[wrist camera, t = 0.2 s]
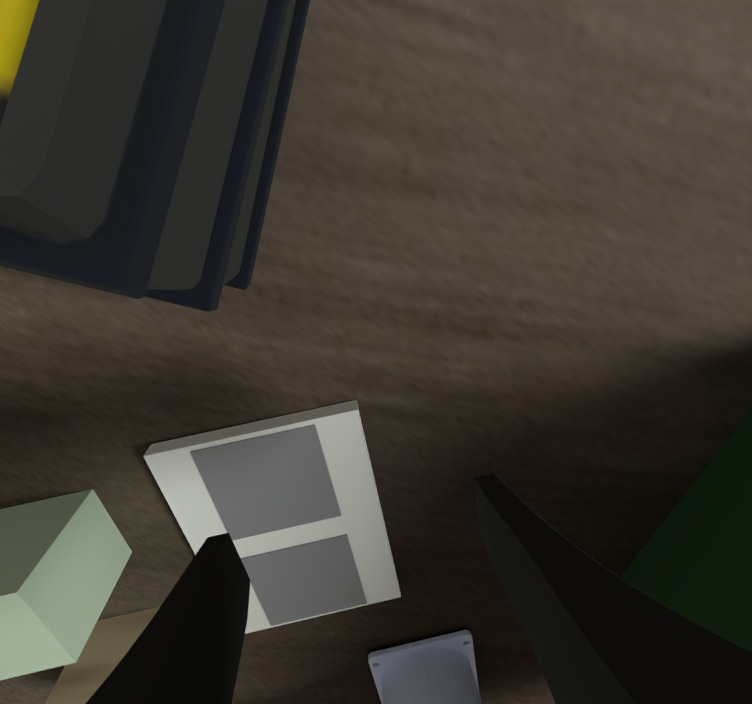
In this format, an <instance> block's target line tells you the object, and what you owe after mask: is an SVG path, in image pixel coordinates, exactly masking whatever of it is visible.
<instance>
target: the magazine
mask: <svg viewBox="0 0 752 704" xmlns="http://www.w3.org/2000/svg"><path fill="white" fill-rule="evenodd" d="M309 2H310V0H0V266H3V267H8V268H12V269H16V270H20V271H24V272H28V273H32V274H37V275H41V276H45V277H49V278H53V279H57V280H62V281H66V282H70V283H74V284H78V285H82V286H86V287H91V288H95V289H99V290H103V291H107V292H111V293H115V294H120V295H124V296H128V297H132V298H136V299H138V298H143V296H145V297H149V298H153V299H158V300H162V301H166V302H170V303H174V304H178V305H182V306H186V307H191V308H195V309H199V310H203V311H212V310H216V309H217V308H218V304H219V300H220V296H221V292H222V287H223V285H227V286H231V287H235V288H239V289H242V290H245V289H246V288H247V287H248V286H249V284H250V282H251V278H252V273H253V268H254V263H255V259H256V254H257V249H258V244H259V240H260V235H261V230H262V226H263V221H264V216H265V211H266V207H267V202H268V197H269V192H270V188H271V183H272V178H273V173H274V169H275V164H276V159H277V154H278V150H279V145H280V140H281V135H282V131H283V126H284V121H285V116H286V112H287V107H288V102H289V97H290V93H291V88H292V83H293V78H294V74H295V69H296V64H297V59H298V55H299V50H300V45H301V40H302V36H303V31H304V26H305V21H306V17H307V12H308V7H309Z"/></svg>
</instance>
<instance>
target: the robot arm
mask: <svg viewBox="0 0 752 704" xmlns="http://www.w3.org/2000/svg"><path fill="white" fill-rule="evenodd" d="M474 488H475V499H476V510H477V521H478V529H479V532H480V535H481V537H482V540H483V543H484V546H485V548H486V551H487V554H488V556H489V559H490V562H491V564H492V566H493V568H494V570H495V572H496V574H497V576H498V578H499V580H500V582H501V585H502V587H503V589H504V591H505V593H506V595H507V597H508V599H509V601H510V603H511V605H512V607H513V609H514V611H515V613H516V615H517V617H518V619H519V621H520V623H521V625H522V627H523V629H524V631H525V633H526V635H527V637H528V639H529V641H530V643H531V645H532V648H533V650H534V652H535V654H536V656H537V659H538V661H539V663H540V665H541V668H542V670H543V673H544V675H545V678H546V680H547V683H548V685H549V688H550V690H551V693H552V695H553V698H554V700H555V703H556V704H752V652H750V651H748V650H746V649H744V648H741V647H739V646H737V645H735V644H733V643H731V642H729V641H727V640H726V639H724V638H722V637H720V636H718V635H716V634H714V633H712V632H711V631H709V630H707V629H705V628H703V627H701V626H699V625H697V624H696V623H694V622H692V621H690V620H689V619H687V618H685V617H684V616H682V615H680V614H678V613H677V612H675V611H673V610H672V609H670V608H668V607H666V606H665V605H663V604H661V603H660V602H658V601H656V600H655V599H653V598H651V597H649V596H648V595H646V594H645V593H643V592H642V591H640V590H638V589H637V588H635V587H634V586H632V585H631V584H629V583H628V582H626V581H624V580H623V579H621V578H620V577H619V576H617V575H616V574H614V573H613V572H611V571H610V570H608V569H607V568H605V567H604V566H603V565H601V564H600V563H598V562H597V561H596V560H594V559H593V558H592V557H590V556H589V555H587V554H586V553H585V552H583V551H582V550H581V549H580V548H578V547H577V546H576V545H574V544H573V543H572V542H571V541H569V540H568V539H567V538H566V537H564V536H563V535H562V534H561V533H559V532H558V531H557V530H556V529H555V528H553V527H552V526H551V525H550V524H549V523H548V522H546V521H545V520H544V519H543V518H542V517H541V516H539V515H538V514H537V513H536V512H535V511H534V510H533V509H531V508H530V507H529V506H528V505H527V504H526V503H525V502H524V501H523V500H522V499H521V498H520V497H518V496H517V495H516V494H515V493H514V492H513V491H512V490H511V489H510V488H509V487H508V486H507V485H506V484H505V483H504V482H503V481H502V480H501V479H500V478H499V477H498V476H497V475H495V474H489V475H485V476H480V477H476V478H474ZM249 594H250V578H249V576H248V574H247V572H246V569H245V567H244V565H243V563H242V561H241V558H240V556H239V554H238V552H237V550H236V547H235V545H234V543H233V541H232V539H231V536H230V534H229V533H225V534H220V535H216V536H211V537H208V538H207V539H206V540H205V542H204V543H203V545H202V546H201V548H200V549H199V551H198V552H197V554H196V555H195V556H194V558H193V559H192V561H191V562H190V564H189V565H188V567H187V568H186V570H185V572H184V573H183V574H182V576H181V577H180V579H179V580H178V582H177V583H176V585H175V586H174V588H173V589H172V591H171V592H170V594H169V595H168V597H167V598H166V599H165V601H164V602H163V604H162V605H161V607H160V608H159V610H158V611H157V612H156V614H155V615H154V617H153V618H152V619H151V621H150V622H149V624H148V625H147V626H146V628H145V629H144V630H143V632H142V633H141V634H140V636H139V637H138V638H137V640H136V641H135V642H134V644H133V645H132V646H131V648H130V649H129V651H128V652H127V653H126V655H125V656H124V657H123V658H122V660H121V661H120V662H119V663H118V665H117V666H116V667H115V669H114V670H113V671H112V672H111V674H110V675H109V676H108V677H107V678H106V680H105V681H104V682H103V683H102V684H101V686H100V687H99V688H98V689H97V690H96V692H95V693H94V694H93V695H92V696H91V697H90V699H89V700H88V701H87V702H86V703H85V704H231V703H232V698H233V692H234V687H235V682H236V677H237V672H238V667H239V662H240V656H241V651H242V646H243V641H244V635H245V630H246V624H247V618H248V607H249ZM368 662H369V666H370V669H371V672H372V675H373V678H374V681H375V684H376V688H377V691H378V694H379V697H380V700H381V703H382V704H482V701H481V697H480V694H479V688H478V680H477V672H476V664H475V656H474V648H473V640H472V635H471V632H470V631H469V630H462V631H458V632H454V633H449V634H445V635H441V636H437V637H433V638H429V639H424V640H420V641H416V642H412V643H408V644H404V645H399V646H395V647H391V648H387V649H383V650H379V651H374V652H371V653H370V654H369V655H368Z"/></svg>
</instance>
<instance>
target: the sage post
mask: <svg viewBox="0 0 752 704" xmlns="http://www.w3.org/2000/svg"><path fill="white" fill-rule="evenodd" d="M131 553H132V551H131V550H130V548H129V546H128V545H127V543H126V542H125V540H124V538H123V537H122V535H121V534H120V532H119V530H118V529H117V527H116V526H115V524H114V522H113V521H112V519H111V517H110V516H109V514H108V513H107V511H106V509H105V508H104V506H103V505H102V503H101V501H100V500H99V498H98V497H97V495H96V493H95V492H94V490H93V489H90V490H86V491H81V492H77V493H72V494H68V495H63V496H58V497H54V498H49V499H45V500H40V501H36V502H31V503H27V504H22V505H17V506H13V507H8V508H4V509H0V680H4V679H8V678H12V677H17V676H21V675H25V674H29V673H34V672H38V671H42V670H46V669H51V668H55V667H59V666H63V665H68V664H72V663H76V662H77V660H78V658H79V656H80V654H81V652H82V650H83V648H84V646H85V644H86V642H87V640H88V638H89V636H90V634H91V632H92V630H93V628H94V626H95V624H96V622H97V620H98V618H99V616H100V614H101V612H102V610H103V608H104V606H105V604H106V602H107V601H108V599H109V597H110V595H111V593H112V591H113V589H114V587H115V585H116V583H117V581H118V579H119V577H120V575H121V573H122V571H123V569H124V567H125V565H126V563H127V561H128V559H129V557H130V555H131Z"/></svg>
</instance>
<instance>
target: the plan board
mask: <svg viewBox="0 0 752 704" xmlns="http://www.w3.org/2000/svg"><path fill="white" fill-rule="evenodd" d="M143 457H144V459H145V461H146V463H147V465H148V466H149V468H150V470H151V472H152V474H153V476H154V478H155V480H156V482H157V483H158V485H159V487H160V489H161V491H162V493H163V495H164V497H165V499H166V500H167V502H168V504H169V506H170V508H171V510H172V512H173V514H174V516H175V517H176V519H177V521H178V523H179V525H180V527H181V529H182V531H183V533H184V534H185V536H186V538H187V540H188V542H189V544H190V546H191V548H192V550H193V551H194V553H195V555H196V554H197V552H198V551H199V549H200V548H201V546H202V545H203V543H204V542H205V540H206V539H207V538H208V537H211V536H216V535H220V534H225V533H229V534H230V536H231V539H232V541H233V543H234V545H235V547H236V550H237V552H238V554H239V556H240V558H241V561H242V563H243V565H244V567H245V569H246V572H247V574H248V576H249V578H250V594H249V607H248V618H247V624H246V630H245V634H246V633H251V632H255V631H259V630H263V629H267V628H272V627H276V626H280V625H284V624H289V623H293V622H297V621H301V620H306V619H310V618H314V617H318V616H323V615H327V614H331V613H335V612H340V611H344V610H348V609H352V608H357V607H361V606H365V605H369V604H374V603H378V602H382V601H386V600H391V599H395V598H399V597H401V593H400V588H399V582H398V578H397V574H396V569H395V565H394V561H393V556H392V552H391V548H390V543H389V539H388V535H387V530H386V526H385V522H384V517H383V513H382V509H381V504H380V500H379V496H378V491H377V487H376V483H375V478H374V474H373V470H372V465H371V461H370V457H369V452H368V448H367V444H366V439H365V435H364V431H363V426H362V422H361V418H360V413H359V409H358V405H357V400H353V401H348V402H344V403H339V404H335V405H330V406H325V407H321V408H316V409H311V410H307V411H302V412H298V413H293V414H288V415H284V416H279V417H274V418H270V419H265V420H261V421H256V422H251V423H247V424H242V425H238V426H233V427H228V428H224V429H219V430H214V431H210V432H205V433H201V434H196V435H191V436H187V437H182V438H177V439H173V440H168V441H164V442H159V443H154V444H151V445H150V447H149V448H148V450H147V451H146V453H145V454H144V456H143Z"/></svg>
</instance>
